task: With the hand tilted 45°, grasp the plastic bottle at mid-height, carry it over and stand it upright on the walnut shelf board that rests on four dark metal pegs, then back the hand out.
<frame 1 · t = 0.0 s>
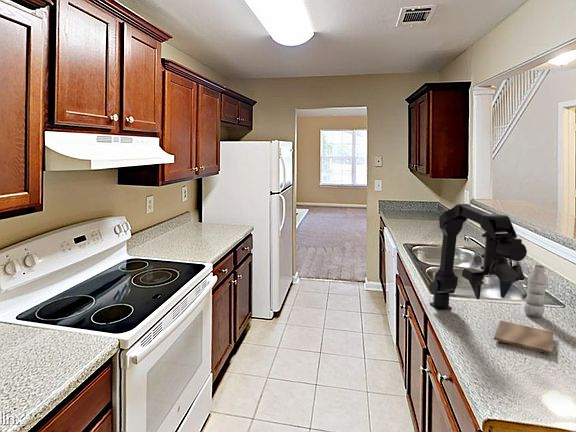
hand: (490, 298, 126), 15 cm above the worktop, tool pointing down, fingers open, 9 cm apart
plastic bottle: (533, 316, 148), on the worktop
shelf board: (523, 340, 128), on the worktop
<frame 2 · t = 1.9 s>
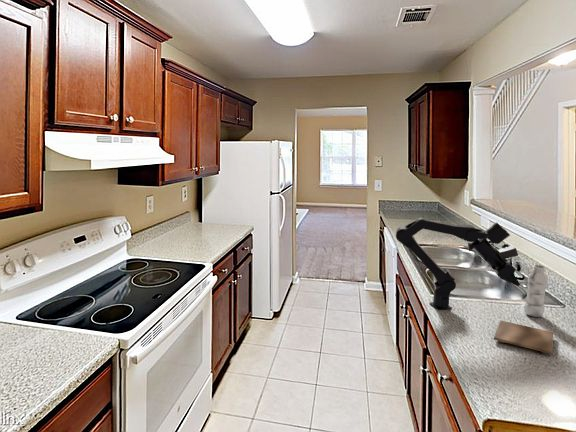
hand: (515, 281, 147), 13 cm above the worktop, tool tilted 45°, fingers open, 9 cm apart
nothing on the worktop moved.
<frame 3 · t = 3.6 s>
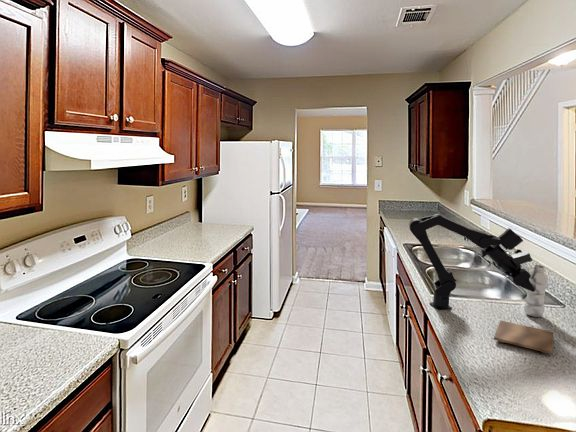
hand: (529, 286, 146), 12 cm above the worktop, tool tilted 45°, fingers open, 9 cm apart
nothing on the worktop moved.
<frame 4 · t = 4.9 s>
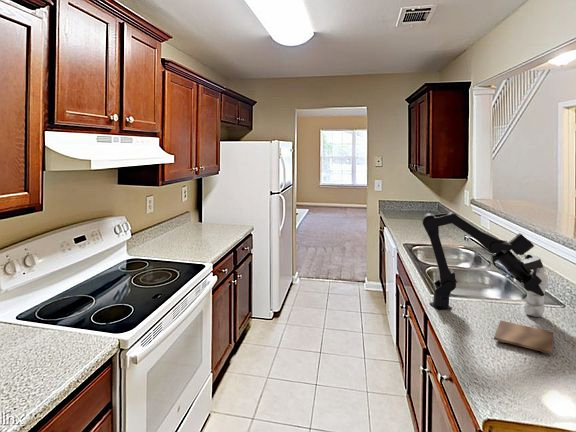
hand: (540, 292, 146), 10 cm above the worktop, tool tilted 45°, fingers closed on plastic bottle, 6 cm apart
plastic bottle: (533, 316, 148), on the worktop, touching gripper
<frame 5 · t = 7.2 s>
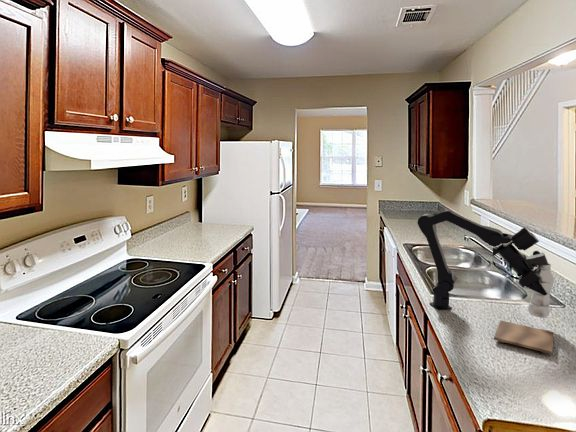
hand: (545, 292, 136), 13 cm above the worktop, tool tilted 45°, fingers closed on plastic bottle, 6 cm apart
plastic bottle: (538, 316, 138), point 3 cm above the worktop, touching gripper
when the fingers open (13 cm above the worktop, at t = 9.4 s): plastic bottle drops 1 cm, resting on shelf board.
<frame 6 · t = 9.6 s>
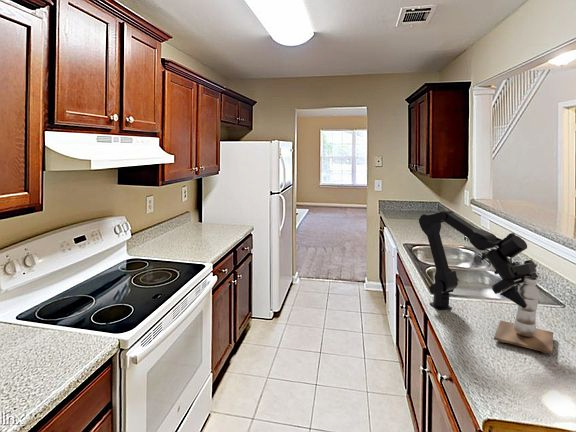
hand: (531, 305, 125), 13 cm above the worktop, tool tilted 45°, fingers open, 8 cm apart
plastic bottle: (523, 334, 128), point 2 cm above the worktop, touching shelf board
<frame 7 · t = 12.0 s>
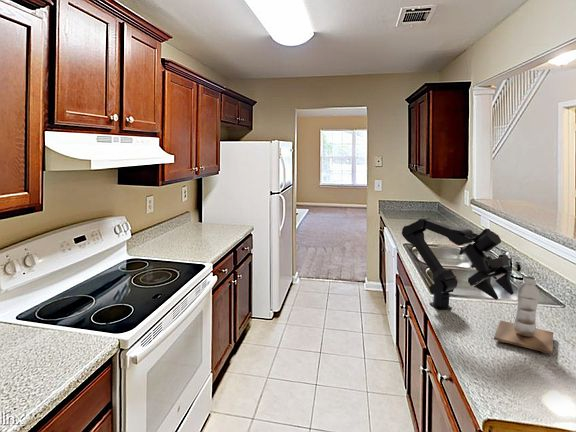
hand: (505, 296, 132), 13 cm above the worktop, tool tilted 45°, fingers open, 9 cm apart
nothing on the worktop moved.
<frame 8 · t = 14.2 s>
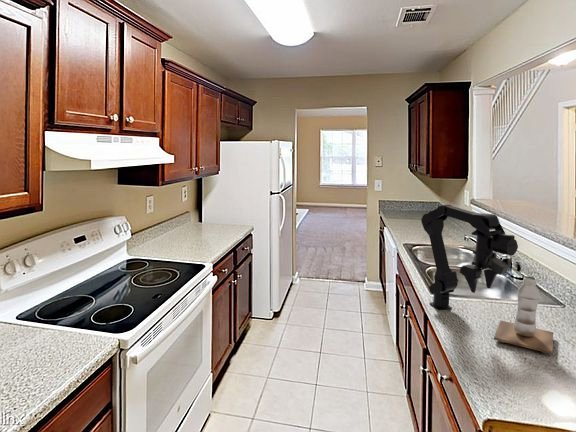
hand: (481, 290, 138), 13 cm above the worktop, tool pointing down, fingers open, 9 cm apart
nothing on the worktop moved.
at the end: plastic bottle inside the target area on the shelf board (0.1 cm from its centre), point 1.8 cm above the shelf board's base; plastic bottle tilted 0°; the gripper is holding nothing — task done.
